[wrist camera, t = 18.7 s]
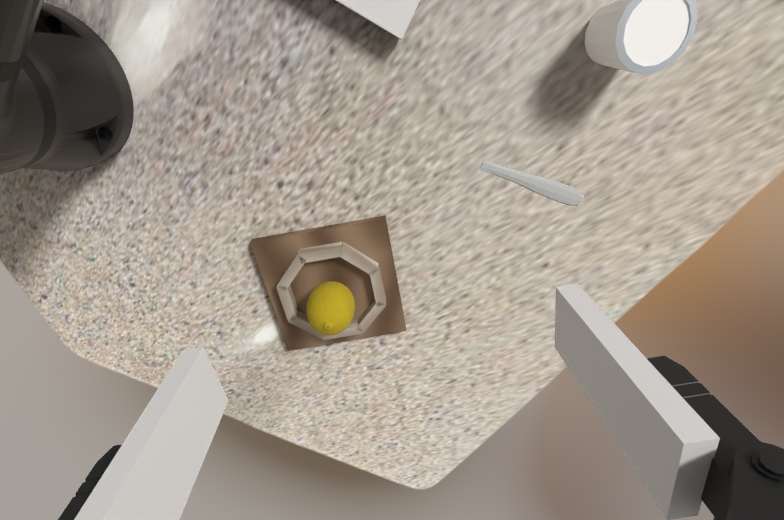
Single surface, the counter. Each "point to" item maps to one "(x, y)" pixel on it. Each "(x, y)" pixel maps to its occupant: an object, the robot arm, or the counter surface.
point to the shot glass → (640, 34)
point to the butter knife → (537, 184)
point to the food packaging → (385, 13)
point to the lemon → (330, 308)
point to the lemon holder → (332, 278)
